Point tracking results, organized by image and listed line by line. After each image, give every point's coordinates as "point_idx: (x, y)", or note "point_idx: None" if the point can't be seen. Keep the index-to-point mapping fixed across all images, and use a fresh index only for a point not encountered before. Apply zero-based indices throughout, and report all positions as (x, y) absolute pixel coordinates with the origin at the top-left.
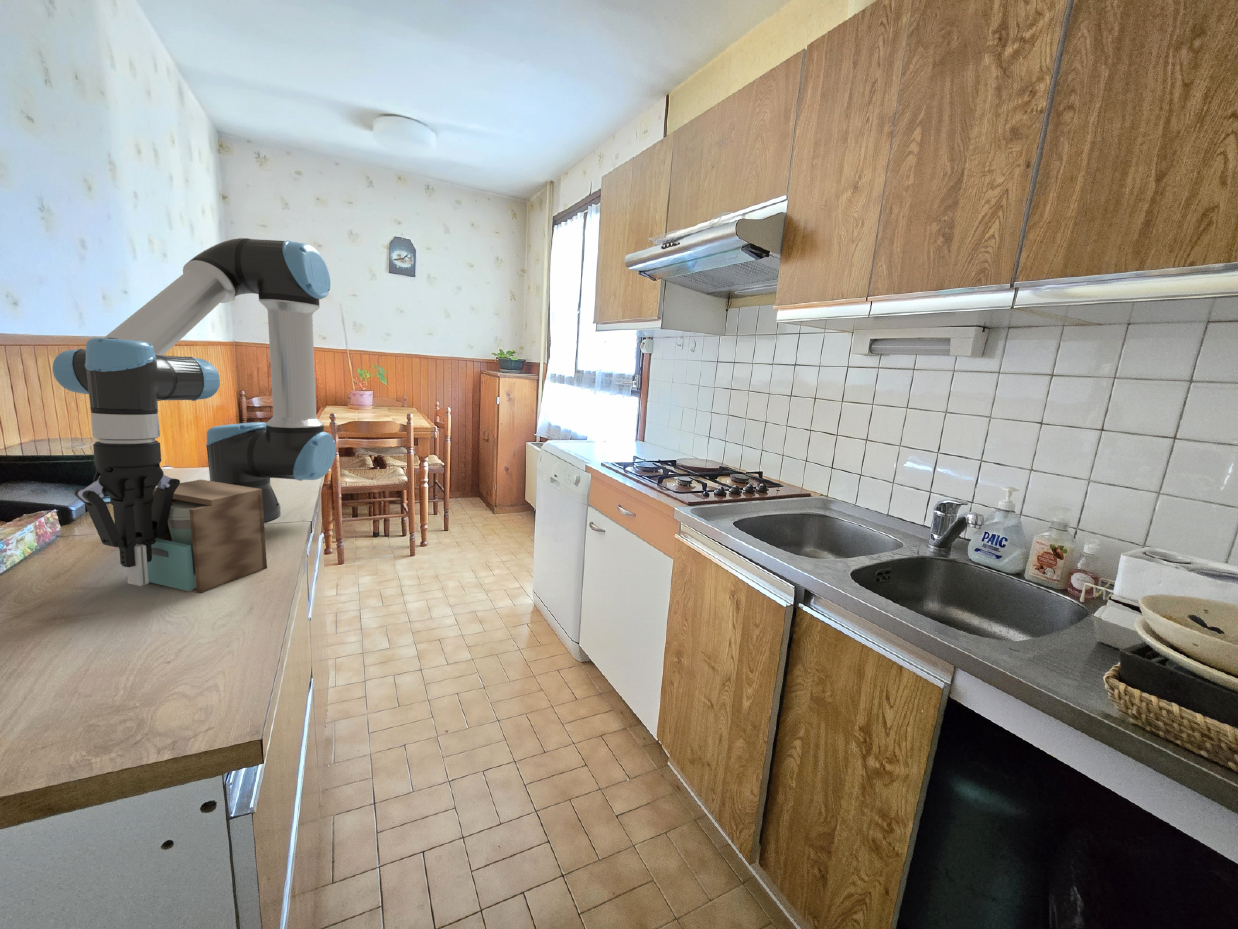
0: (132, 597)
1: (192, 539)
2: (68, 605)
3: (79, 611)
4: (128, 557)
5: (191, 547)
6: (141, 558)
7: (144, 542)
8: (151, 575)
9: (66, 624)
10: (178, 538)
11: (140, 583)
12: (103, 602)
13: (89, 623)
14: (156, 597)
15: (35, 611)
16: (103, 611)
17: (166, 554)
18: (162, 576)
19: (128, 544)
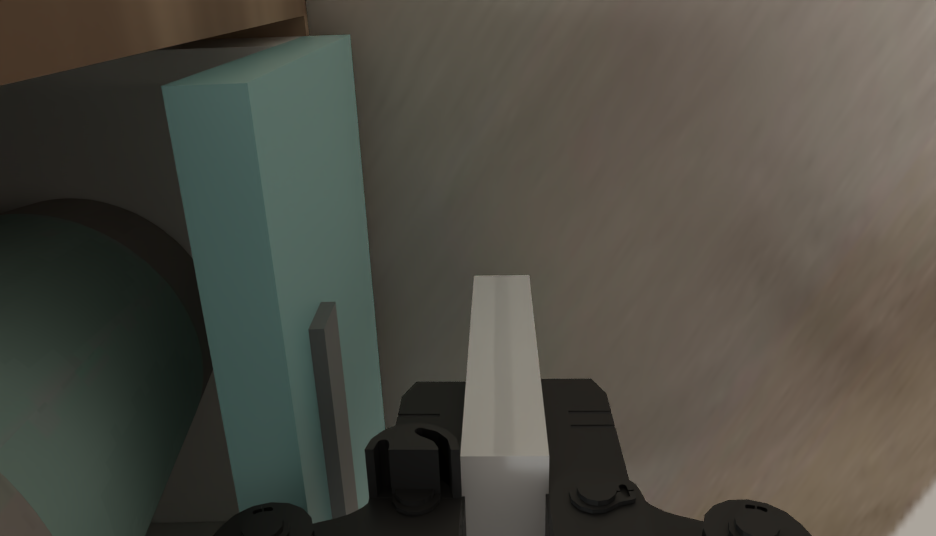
0: (533, 300)
1: (108, 56)
2: (722, 464)
3: (759, 348)
4: (596, 432)
5: (88, 324)
6: (510, 382)
7: (458, 494)
8: (373, 405)
9: (900, 236)
10: (115, 470)
11: (526, 280)
12: (638, 362)
13: (862, 140)
14: (475, 178)
15: (818, 513)
16: (722, 241)
17: (330, 318)
18: (362, 311)
19: (631, 503)
